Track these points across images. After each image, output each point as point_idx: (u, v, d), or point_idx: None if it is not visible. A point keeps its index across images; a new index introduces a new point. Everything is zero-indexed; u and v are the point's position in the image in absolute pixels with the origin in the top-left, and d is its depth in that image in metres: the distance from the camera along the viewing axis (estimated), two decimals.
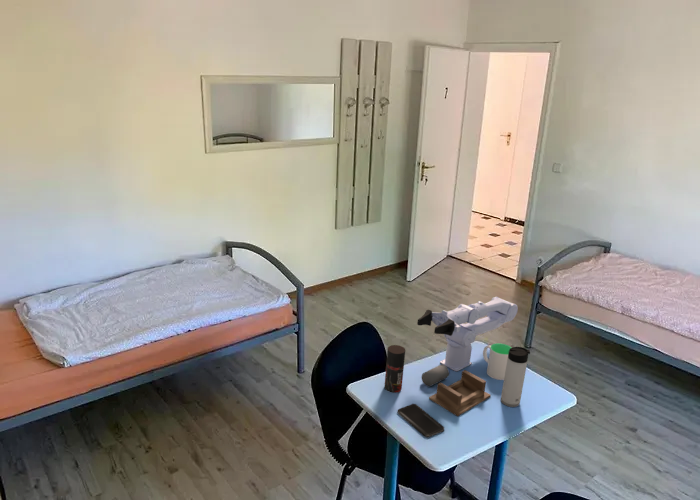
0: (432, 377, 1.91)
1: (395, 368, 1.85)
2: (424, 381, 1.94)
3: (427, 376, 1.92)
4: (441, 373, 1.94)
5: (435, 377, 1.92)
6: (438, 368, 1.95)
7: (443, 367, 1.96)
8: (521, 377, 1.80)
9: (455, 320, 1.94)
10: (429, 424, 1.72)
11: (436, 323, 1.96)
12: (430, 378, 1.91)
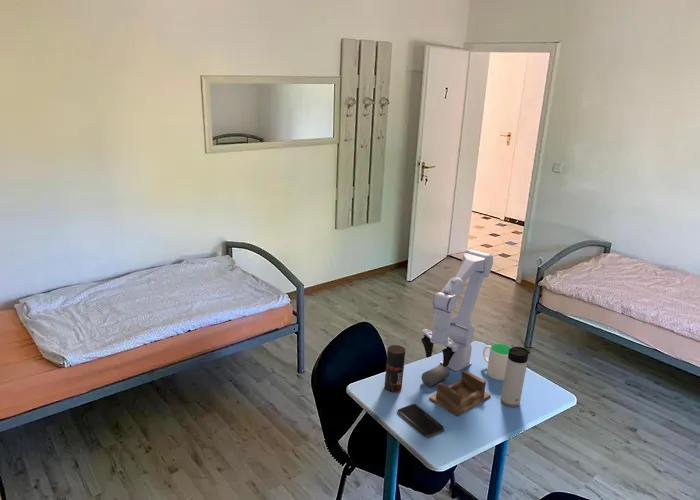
0: (432, 377, 1.91)
1: (395, 368, 1.85)
2: (424, 381, 1.94)
3: (427, 376, 1.92)
4: (441, 373, 1.94)
5: (435, 377, 1.92)
6: (438, 368, 1.95)
7: (443, 367, 1.96)
8: (521, 377, 1.80)
9: (445, 333, 1.87)
10: (429, 424, 1.72)
11: None
12: (430, 377, 1.91)
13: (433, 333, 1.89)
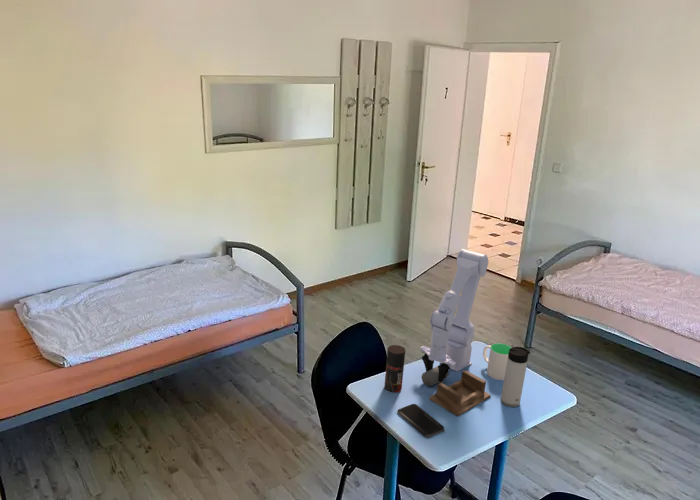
0: (432, 377, 1.91)
1: (395, 368, 1.85)
2: (424, 381, 1.94)
3: (427, 376, 1.92)
4: None
5: (435, 377, 1.92)
6: None
7: None
8: (521, 377, 1.80)
9: (443, 351, 1.89)
10: (429, 424, 1.72)
11: None
12: (430, 378, 1.91)
13: (431, 350, 1.91)
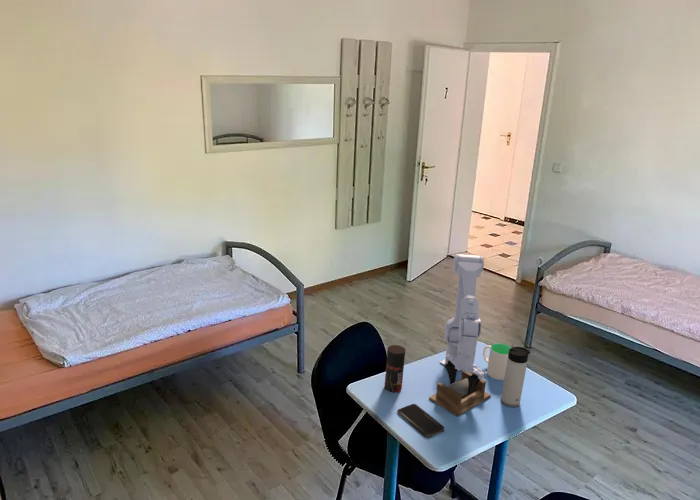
0: (458, 392, 1.81)
1: (395, 368, 1.85)
2: None
3: None
4: (467, 388, 1.85)
5: (461, 393, 1.82)
6: (464, 382, 1.86)
7: None
8: (521, 377, 1.80)
9: (471, 360, 1.79)
10: (429, 424, 1.72)
11: None
12: None
13: (458, 359, 1.81)
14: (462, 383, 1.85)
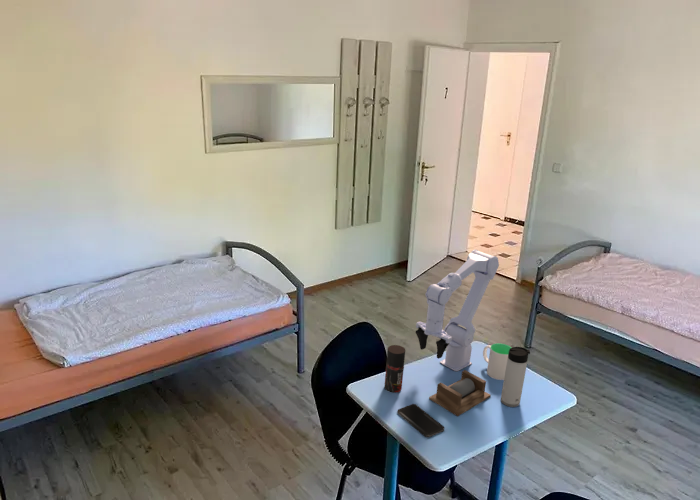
0: (458, 392, 1.81)
1: (395, 368, 1.85)
2: None
3: None
4: (467, 388, 1.85)
5: (461, 393, 1.82)
6: (464, 382, 1.86)
7: (469, 381, 1.87)
8: (521, 377, 1.80)
9: (439, 325, 1.89)
10: (429, 424, 1.72)
11: None
12: None
13: (427, 325, 1.90)
14: (462, 383, 1.85)
